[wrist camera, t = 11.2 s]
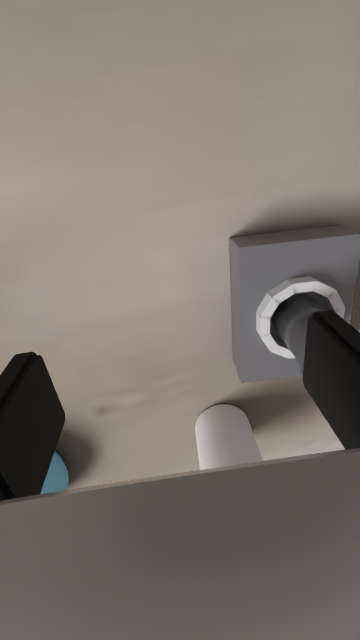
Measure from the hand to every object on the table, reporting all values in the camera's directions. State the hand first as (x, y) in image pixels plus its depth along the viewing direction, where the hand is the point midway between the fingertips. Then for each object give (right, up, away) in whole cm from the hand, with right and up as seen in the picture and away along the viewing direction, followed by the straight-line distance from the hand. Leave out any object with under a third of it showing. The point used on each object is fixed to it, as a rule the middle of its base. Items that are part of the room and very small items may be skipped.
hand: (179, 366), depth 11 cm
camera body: (+12, +4, +27) cm, 30 cm away
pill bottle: (+6, -13, +35) cm, 38 cm away
